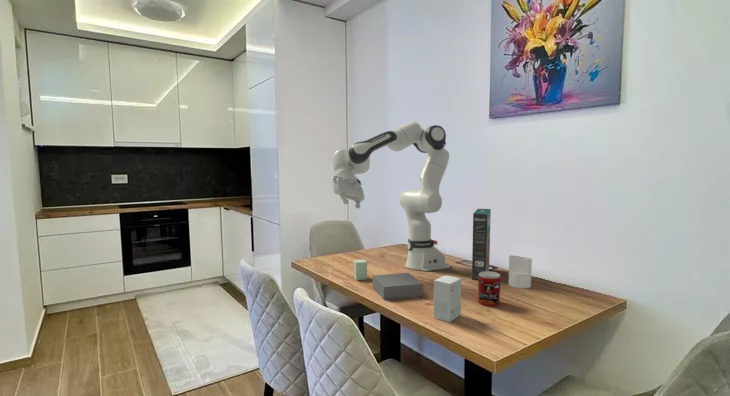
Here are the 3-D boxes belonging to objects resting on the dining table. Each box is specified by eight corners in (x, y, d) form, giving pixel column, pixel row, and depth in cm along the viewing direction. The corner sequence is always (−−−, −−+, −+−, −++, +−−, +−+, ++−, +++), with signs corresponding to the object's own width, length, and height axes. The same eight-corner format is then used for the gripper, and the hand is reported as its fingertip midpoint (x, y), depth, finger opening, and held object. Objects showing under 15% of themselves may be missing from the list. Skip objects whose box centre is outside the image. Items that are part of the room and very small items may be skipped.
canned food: (477, 305, 139) (477, 275, 138) (479, 298, 147) (479, 270, 146) (499, 307, 136) (499, 278, 135) (500, 300, 144) (500, 272, 143)
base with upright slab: (534, 284, 163) (534, 257, 162) (526, 289, 157) (527, 261, 156) (513, 280, 169) (513, 254, 168) (504, 285, 163) (505, 257, 162)
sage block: (364, 276, 176) (364, 259, 176) (366, 279, 172) (366, 262, 171) (353, 277, 175) (353, 260, 174) (356, 280, 170) (356, 262, 170)
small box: (444, 310, 134) (445, 274, 133) (461, 315, 130) (461, 278, 128) (432, 317, 127) (433, 280, 126) (450, 322, 123) (450, 283, 122)
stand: (408, 284, 164) (408, 272, 164) (422, 296, 149) (422, 283, 148) (372, 287, 160) (372, 275, 160) (383, 299, 145) (383, 287, 144)
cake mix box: (485, 281, 168) (487, 214, 166) (471, 279, 171) (473, 213, 168) (489, 268, 189) (490, 209, 186) (476, 267, 191) (477, 208, 188)
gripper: (337, 171, 173) (344, 197, 167) (363, 182, 189) (369, 207, 183) (327, 177, 175) (333, 203, 170) (353, 188, 192) (359, 212, 186)
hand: (352, 205), depth 176 cm, fingers open, 8 cm apart
